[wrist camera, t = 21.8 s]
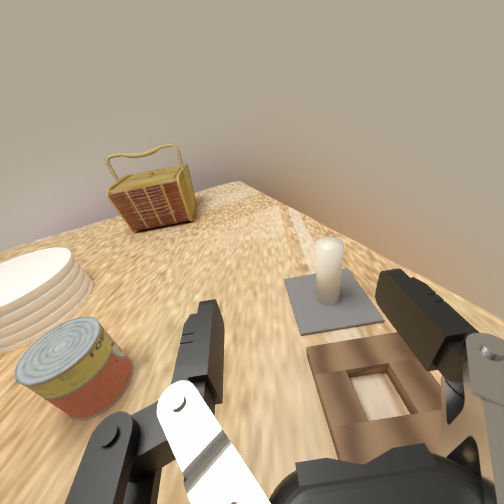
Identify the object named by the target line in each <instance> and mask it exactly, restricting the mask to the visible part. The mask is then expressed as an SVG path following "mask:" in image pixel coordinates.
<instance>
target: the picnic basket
mask: <svg viewBox="0 0 504 504" xmlns="http://www.w3.org/2000/svg"><path fill="white" fill-rule="evenodd" d="M166 147H174V148H175V149H176V151H177V155H178V159H179V163H180V166H174V167H168V168H163V169H158V170H153V171H147V172H142V173H137V174H132V175H129V174H127V175H125V176H124V177H123V178H121V179H120V180H119V179H118V177H117V175H116V174H115V172H114V170H113V168H112V166H111V165H110V162H109V160H110V158H114V157H119V156H124V157H128V158H139V157H145V156H148V155H151V154H154V153H156V152H157V151H158V150H159V149H162V148H166ZM105 161H106V165H107V166H108V168H109V170H110V172H111V173H112V175H113V177H114V178H115V180H116V182H115V183H114V184H113V185H111V186H110V187H108V188H107V189H106V195H107V197H108V199H109V200H110V201H111V203H112V204H113V206H114V207H115V208H116V210H117V211H118V212H119V214H120V215H121V216H122V218H123V219H124V221H125V222H126V223H127V225H128V226H129V227H130V229H131V230H132V231H134V232H138V231H139V230H144V229H149V228H155V227H160V226H165V225H170V224H175V223H181V222H186V221H193V219H194V215H195V211H196V200H195V195H194V191H193V186H192V182H191V177H190V172H189V168H188V165H187V164H186V163H185V164H184V165H183V162H182V158H181V153H180V150H179V148H178V147H177V146H176V145H174V144H166V145H162V146H158V147H156V148H153V149H151V150H149V151H146V152H142V153H136V154H133V153H120V154H114V155H110V156H108V157H107V158H106V160H105Z"/></svg>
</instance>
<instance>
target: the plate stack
mask: <svg viewBox="0 0 504 504" xmlns="http://www.w3.org/2000/svg"><path fill="white" fill-rule="evenodd" d="M92 290H93V281H92V280H91V278H90V277H89V276H88V274H87V273H86V272H85V271H84V270H83V268H82V266H81V265H80V264H79V263H78V261H77V260H76V258H75V257H73V254H72V253H71V252H70V250H68V249H66V248H48V249H43V250H38V251H34V252H31V253H27V254H24V255H21V256H18V257H16V258H13V259H10V260H8V261H5V262H3V263H1V264H0V354H2V353H5V352H9V351H12V350H14V349H17V348H19V347H22V346H24V345H26V344H29V343H31V342H33V341H35V340H37V339H38V338H40V337H42V336H43V335H45V334H46V333H47V332H49V331H50V330H52V329H54V328H55V327H57V326H59V325H61V324H62V323H63V322H65V321H66V320H67V319H69V318H70V317H71V316H72V315H73V314H74V313H76V312H77V311H78V310H79V309H80V308H81V307H82V305H83V304H84V303H85V302H86V301H87V299H88V298H89V296H90V295H91V293H92Z"/></svg>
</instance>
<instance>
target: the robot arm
mask: <svg viewBox="0 0 504 504" xmlns="http://www.w3.org/2000/svg"><path fill="white" fill-rule="evenodd" d="M375 298H376V302H377V304H378V306H379V307H380V309H381V310H382V312H383V313H384V314H385V316H386V317H387V318H388V320H389V321H390V322H391V324H392V325H393V327H394V328H395V329H396V331H397V332H398V333H399V335H400V336H401V337H402V339H403V340H404V341H405V343H406V344H407V346H408V347H409V348H410V350H411V351H412V352H413V354H414V355H415V356H416V358H417V359H418V361H419V362H420V363H421V365H422V366H423V367H424V369H425V370H426V371H433V370H439V371H440V373H441V374H442V377H441V410H442V429H441V434H440V437H439V441H438V448H437V454H434V453H431V452H430V451H429V450H428V448H427V446H426V444H425V443H420V444H414V445H407V446H401V447H395V448H391V449H390V450H388V451H386V452H385V453H383V454H381V455H380V456H378V457H376V458H375V459H373V460H371V461H370V462H368V463H366V464H357V463H351V462H346V461H341V460H335V459H330V458H323V459H317V460H310V461H304V462H297V463H295V464H296V471H294V472H292V473H291V474H289V475H288V476H287V477H286V478H285V479H283V480H282V482H281V483H280V484H279V485H278V486H277V487H276V489H275V490H274V492H273V493H272V495H271V497H270V499H269V500H268V499H267V497H266V496H265V494H264V492H263V491H262V489H261V488H260V486H259V485H258V483H257V482H256V480H255V479H254V477H253V476H252V474H251V472H250V471H249V469H248V468H247V466H246V465H245V463H244V462H243V460H242V459H241V457H240V456H239V454H238V452H237V451H236V449H235V448H234V446H233V445H232V443H231V442H230V440H229V439H228V437H227V436H226V434H225V433H224V431H223V430H222V428H221V427H220V425H219V424H218V422H217V421H216V419H215V417H214V414H215V404H221V403H222V400H223V366H224V322H223V318H222V315H221V313H220V310H219V307H218V304H217V301H216V300H215V299H213V300H208V301H202V302H200V303H199V307H198V313H197V314H191V315H190V316H189V318H188V319H187V321H186V322H185V324H184V327H183V332H182V337H181V341H180V346H179V351H178V355H177V360H176V365H175V369H174V374H173V379H172V382H171V384H170V386H169V387H168V388H167V389H166V390H165V392H164V393H163V394H162V396H161V398H160V399H159V400H158V401H157V402H155V403H153V404H152V405H150V406H148V407H146V408H144V409H142V410H140V411H138V412H137V413H135V414H133V415H131V416H130V415H129V414H128V413H126V412H122V411H121V412H116V413H113V414H111V415H110V416H108V417H107V418H105V419H104V420H103V421H102V422H101V423H100V424H99V425H98V426H97V428H96V429H95V430H94V432H93V433H92V435H91V437H90V439H89V442H88V444H87V447H86V450H85V452H84V455H83V457H82V460H81V463H80V465H79V468H78V471H77V473H76V476H75V479H74V481H73V484H72V486H71V489H70V492H69V494H68V497H67V500H66V502H65V504H157V499H158V492H159V485H160V478H161V471H162V467H164V466H165V465H167V464H168V463H170V462H172V461H173V460H175V459H177V461H178V464H179V466H180V468H181V470H182V473H183V476H184V486H185V489H186V492H187V495H188V497H189V500H190V502H191V504H504V340H502V339H500V338H498V337H496V336H493V335H490V334H486V333H480V332H478V331H477V330H476V329H475V328H474V327H473V326H472V325H470V324H469V323H468V322H467V321H466V320H465V319H464V318H463V317H462V316H461V315H460V314H458V313H457V312H456V311H455V310H454V309H453V308H452V307H451V306H450V305H449V304H447V303H446V302H444V300H443V299H442V298H441V297H440V296H439V295H436V293H435V292H434V291H433V290H432V289H431V288H430V287H429V286H428V285H427V284H425V283H423V282H421V281H420V280H418V279H416V278H414V277H412V278H410V277H409V276H408V275H407V274H406V273H405V272H404V271H402V270H401V269H392V270H386V271H382V272H380V275H379V279H378V284H377V288H376V293H375Z"/></svg>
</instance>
